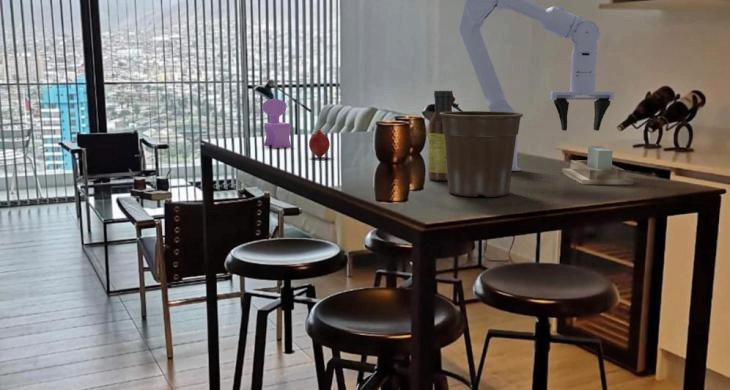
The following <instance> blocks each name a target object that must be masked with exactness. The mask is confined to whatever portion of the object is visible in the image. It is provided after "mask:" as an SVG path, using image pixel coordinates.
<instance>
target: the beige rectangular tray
mask: <svg viewBox="0 0 730 390" xmlns="http://www.w3.org/2000/svg"><path fill="white" fill-rule="evenodd" d="M587 160H588V159H587ZM587 160H586V159H585V160H581V159H580V160H573V159H571V160H570V162H569V163H570V167H569V168H561V173H562V174H564V175H565V176H567V177H568V178H571V180H574V181H575V180H576V181H575V182H577V183H579V184H580V183H581V184H580V185H634V181H635V180H634V179H633V178H631V177H628V176H626V170H625V169H624V168H622V167H619V166H616V165H614V164H612V170H596V169H594V168H592V167H589V166H587Z"/></svg>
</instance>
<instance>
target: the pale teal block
mask: <svg viewBox="0 0 730 390" xmlns="http://www.w3.org/2000/svg"><path fill="white" fill-rule="evenodd" d="M613 152H614V151H613V150H612V149H610V148H606V147H604V146H601V145H600V146H594V145H593V146H591V145H590V146H588V147H587V166H589V167H592V168H594V169H596V170H612V165H613Z"/></svg>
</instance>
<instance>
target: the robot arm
mask: <svg viewBox="0 0 730 390" xmlns="http://www.w3.org/2000/svg"><path fill="white" fill-rule="evenodd" d="M495 8H496V11H497V12H501V11H502V12H503V11H511V12H514V13H516V14H519V15H521V16H524V17H527V18H529V19H532V20H535V21H538V22H540V24H541V28H542V29H543V30H544V31H545V32H548V33H551V34H554V35H556V36H558V37H561V38H563V39H565V40H569V39H570V40H571V41H572V42H573V43H572V44H573V45H572V52H571V58H570V59H571V62H570V83H569V90H561V91H558V90H556V91H555V90H554V91H550V96H549V97H550V99H549V100H551V101H553V104H554V106H555V108H556V110H557V114H558V117H559V121H560V127H561V131H568V112H569V104H570V102H568V100H570V101H571V100H573V101H574V100H575V101H577V100H593V103H594V118H593V119H594V121H593V130H594V131H600V128H601V124H602V121H603V119H604V115H605V114H606V112H607V110H608V108H609V107H610V105H611V101H613V100H615V91H611V90H609V91H608V90H607V91H603V90H596V79H597V78H596V77H597V61H598V53H597V50H598V40H599V39H600V37H601V31H600V29H599V28H600V27H599V26H598V24H597V23H596V22H595V21H593V20H589V19H587V20H586V19H585V20H583V18H584V16H583V15H582V14H579V15H576V14H573V13H571V12H569V11H566V10H565V7H564V6H561V5H559V6H558V7H557V6H555V5H554V6H550V7H549V8H544V7H542V6H540V5H538V4H535V3H534V2H531V1H530V0H465V1H464V6H463V10H462V15H461V19H460V25H459V33H460V35H461V36H460V37H461V38H462V41H463V43H464V46H465V48H466V52H467V53H468V57H469V58H470V59H469V60H470V62H471V64H472V67H473V69H474V73H475V74H476V77H477V80H478V81H479V82H478V83H479V85H480V88H481V90H482V93H483V95H484V97H485V101H486V105H487V107H488V110H489V112H514V113H516V111H515V109H514V108H513V107H512V106H510V104H509V103H508V101H507V98H506V97H505V94H504V91H503V89H502V85H501V83H500V80H499V78H498V74H497V72H496V71H495V67H494V64H493V62H492V59H491V57H490V54H489V52H488V49H487V46H486V44H485V41H484V38H483V36H482V33H481V30H482V29H483V26H484V23H485V21H486V19H487V18H488V17H489V16H490V14H491V13H493V11H494V10H495ZM576 96H577V97H576ZM578 96H580V97H578ZM581 96H582V97H581ZM583 96H585V97H583ZM587 96H588V97H587ZM518 135H519V133H518V134H517V135H516V142H515V149H514V157H513V165H512V172H520V171H521V170H522V169H521V168H520V167H518V166H517V162H518V138H519V136H518Z"/></svg>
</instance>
